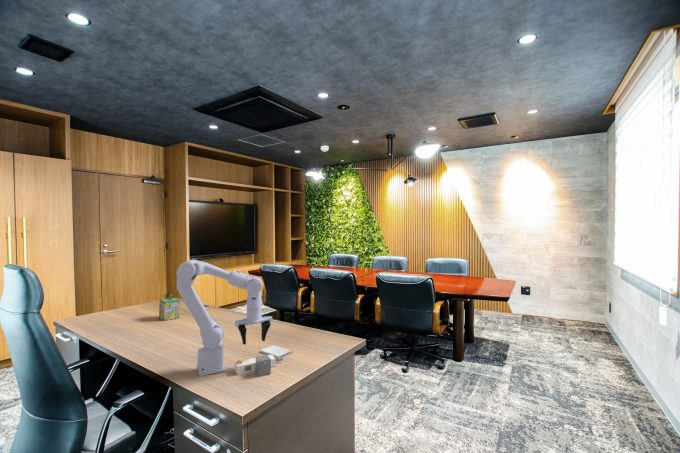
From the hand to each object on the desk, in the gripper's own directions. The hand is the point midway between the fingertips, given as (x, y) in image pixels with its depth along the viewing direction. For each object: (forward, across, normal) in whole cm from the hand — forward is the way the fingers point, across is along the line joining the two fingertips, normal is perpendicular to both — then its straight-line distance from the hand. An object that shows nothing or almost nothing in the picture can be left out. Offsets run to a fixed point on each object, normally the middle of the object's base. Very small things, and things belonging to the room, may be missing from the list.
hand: (253, 342), depth 131 cm
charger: (+10, +1, -7) cm, 12 cm away
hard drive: (+11, +13, +10) cm, 19 cm away
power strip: (+10, +2, -2) cm, 10 cm away
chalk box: (+10, -23, +97) cm, 100 cm away
